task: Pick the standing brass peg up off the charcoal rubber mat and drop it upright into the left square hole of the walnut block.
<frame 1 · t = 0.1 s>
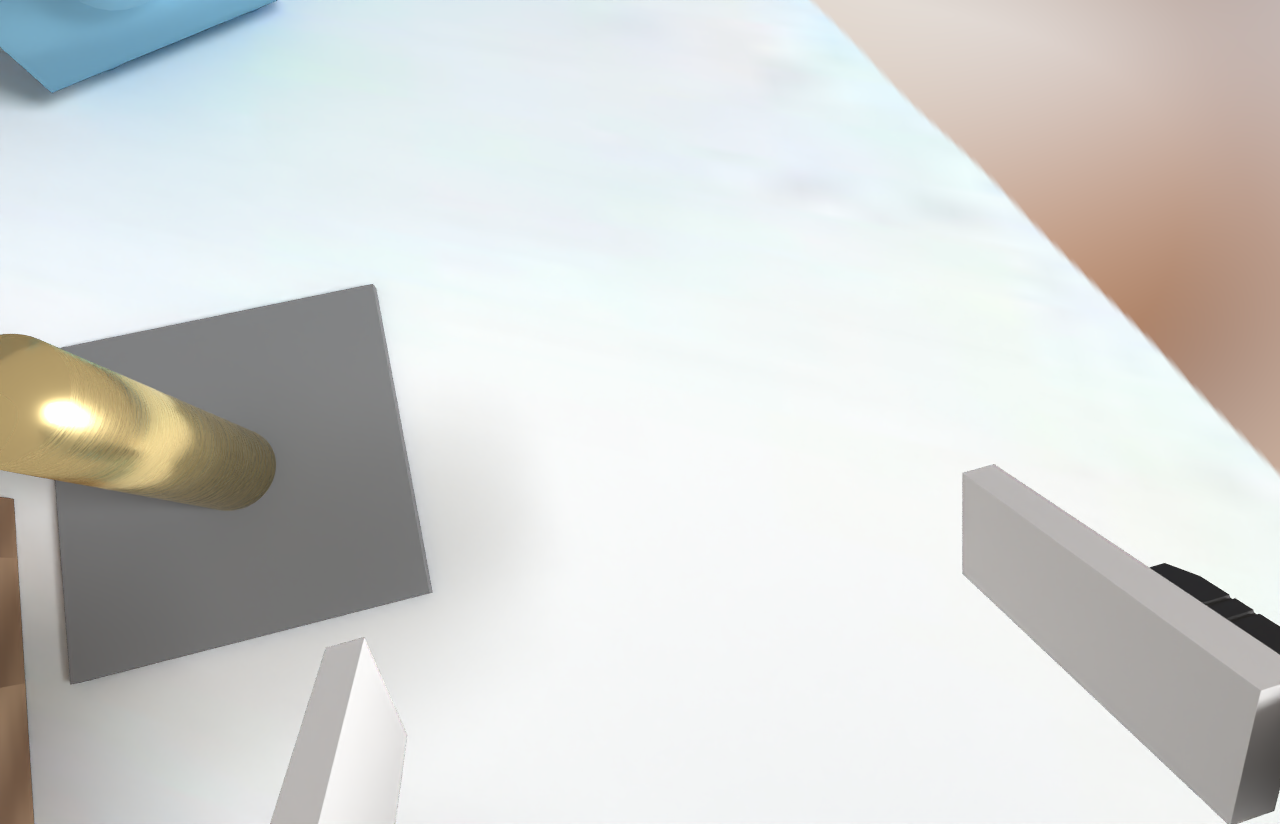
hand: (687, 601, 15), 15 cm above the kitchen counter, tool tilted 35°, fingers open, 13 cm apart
mat: (238, 470, 30), on the kitchen counter
peg: (233, 469, 30), resting on mat
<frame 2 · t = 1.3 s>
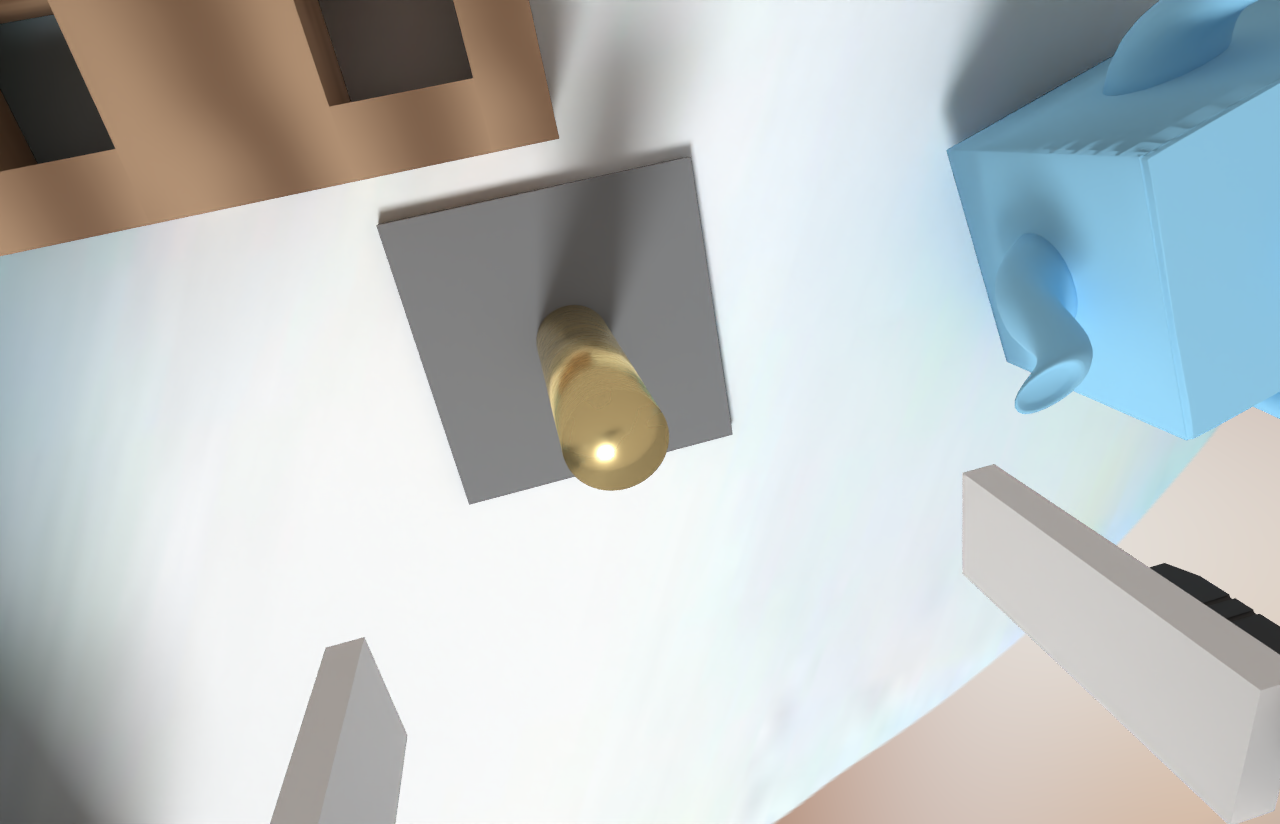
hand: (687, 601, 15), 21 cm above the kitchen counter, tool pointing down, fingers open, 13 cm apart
teakettle: (1052, 200, 37), on the kitchen counter
hole block: (240, 59, 27), on the kitchen counter
mat: (572, 338, 34), on the kitchen counter
peg: (573, 341, 34), resting on mat
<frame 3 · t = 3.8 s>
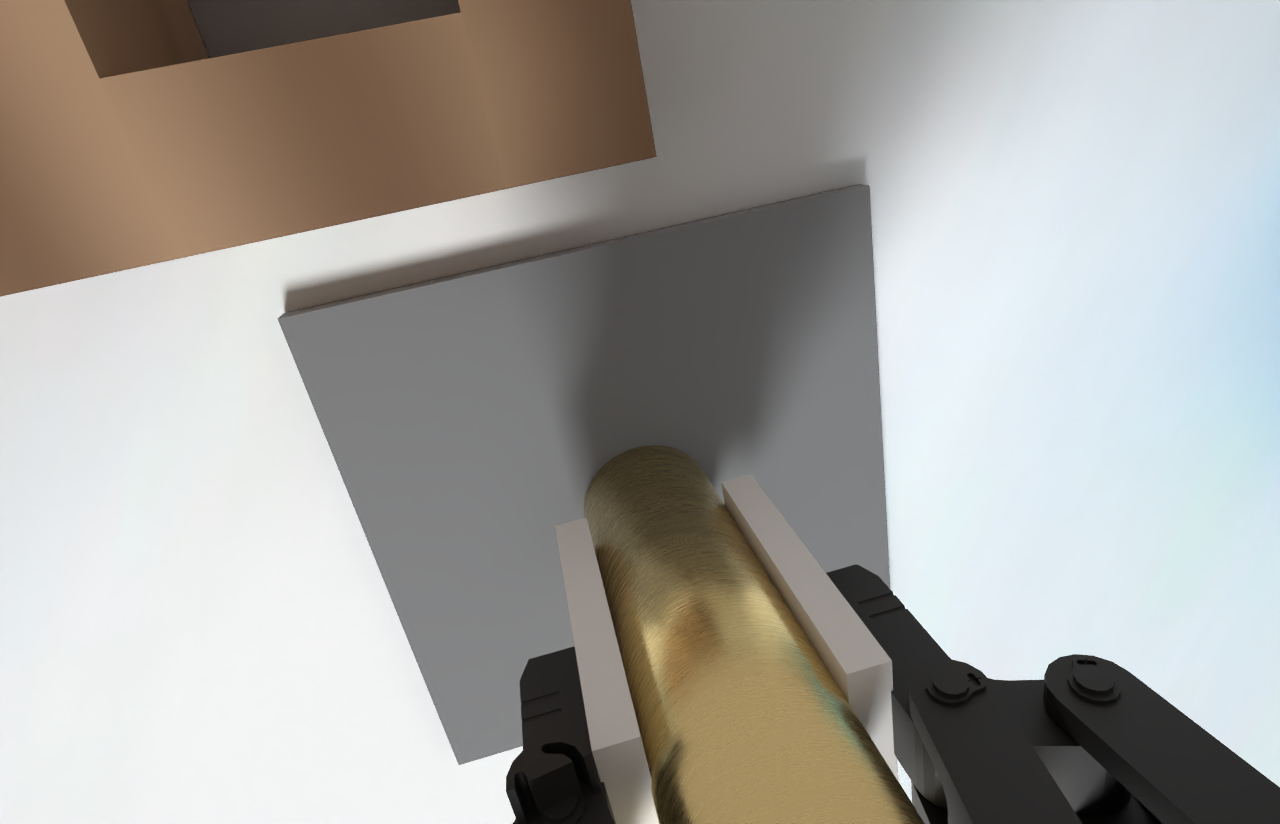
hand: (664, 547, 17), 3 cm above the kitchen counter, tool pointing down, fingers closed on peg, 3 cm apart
mat: (638, 497, 20), on the kitchen counter
peg: (648, 504, 19), point 1 cm above the kitchen counter, touching gripper
when the fingers open (7 cm above the kitchen counter, at t = 9.2 s): peg drops 3 cm, resting in hole block.
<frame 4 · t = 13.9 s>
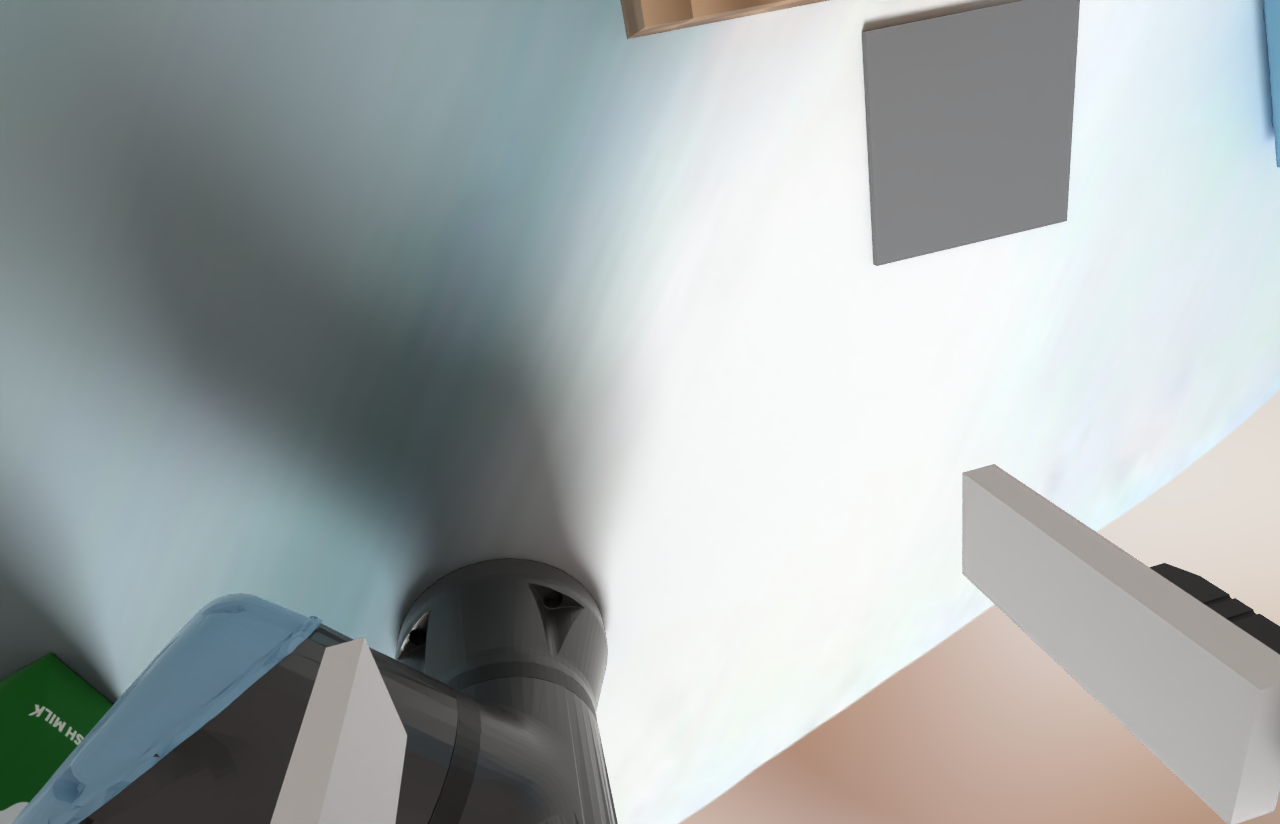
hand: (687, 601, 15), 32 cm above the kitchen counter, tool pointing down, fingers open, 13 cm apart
mat: (969, 133, 45), on the kitchen counter
milk carton: (49, 707, 48), on the kitchen counter
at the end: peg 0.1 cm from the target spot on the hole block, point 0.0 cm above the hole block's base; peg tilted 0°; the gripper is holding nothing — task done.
